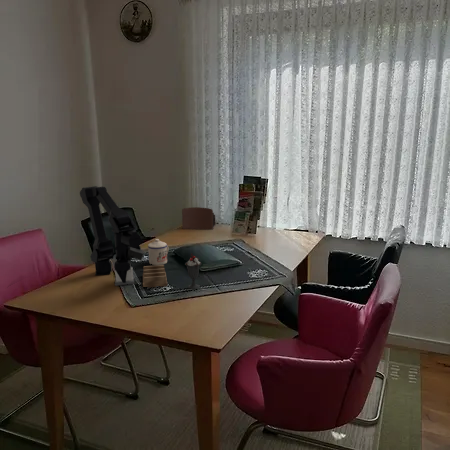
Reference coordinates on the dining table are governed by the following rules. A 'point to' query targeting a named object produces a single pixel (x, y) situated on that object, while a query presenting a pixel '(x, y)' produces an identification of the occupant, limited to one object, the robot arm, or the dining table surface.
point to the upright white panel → (128, 277)
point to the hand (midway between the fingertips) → (124, 278)
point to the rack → (154, 276)
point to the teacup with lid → (158, 252)
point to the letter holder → (198, 218)
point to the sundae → (193, 270)
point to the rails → (125, 282)
